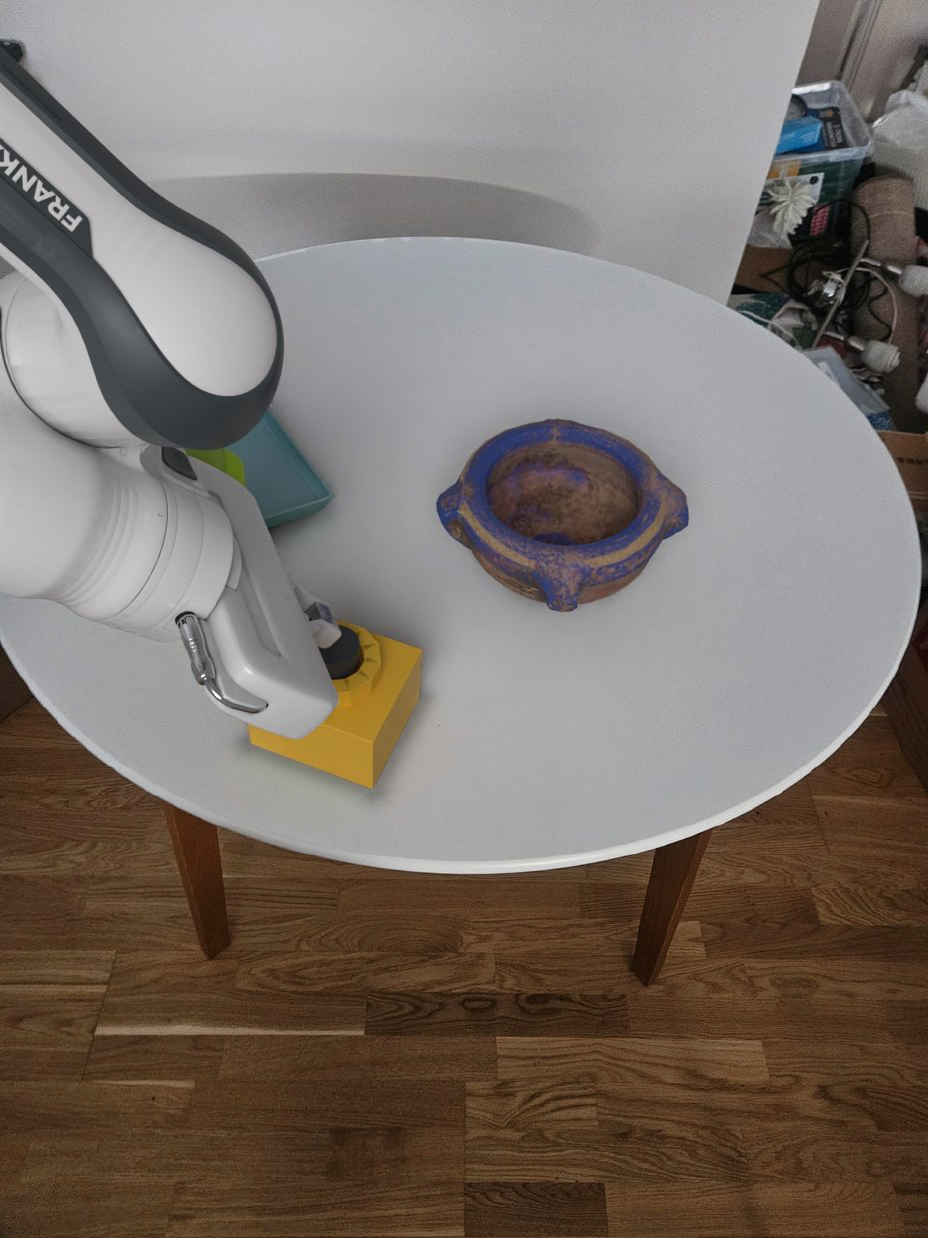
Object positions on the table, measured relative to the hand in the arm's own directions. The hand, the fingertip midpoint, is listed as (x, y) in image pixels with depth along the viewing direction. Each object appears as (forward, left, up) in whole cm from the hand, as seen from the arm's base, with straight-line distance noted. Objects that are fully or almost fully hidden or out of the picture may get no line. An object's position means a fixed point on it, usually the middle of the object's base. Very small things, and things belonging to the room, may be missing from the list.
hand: (328, 626), depth 66 cm
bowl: (+10, +23, -11) cm, 28 cm away
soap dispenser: (-15, +8, -11) cm, 20 cm away
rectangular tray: (-23, +25, -11) cm, 36 cm away
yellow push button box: (0, 0, -11) cm, 11 cm away
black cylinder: (0, 0, -4) cm, 3 cm away
